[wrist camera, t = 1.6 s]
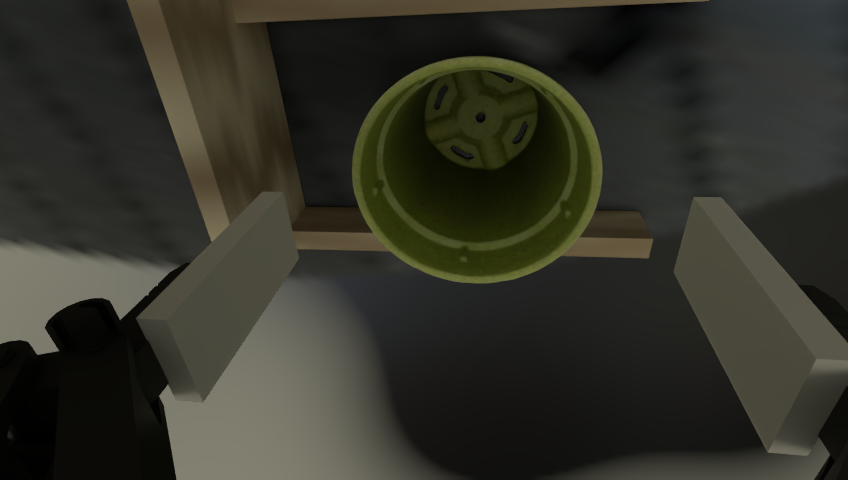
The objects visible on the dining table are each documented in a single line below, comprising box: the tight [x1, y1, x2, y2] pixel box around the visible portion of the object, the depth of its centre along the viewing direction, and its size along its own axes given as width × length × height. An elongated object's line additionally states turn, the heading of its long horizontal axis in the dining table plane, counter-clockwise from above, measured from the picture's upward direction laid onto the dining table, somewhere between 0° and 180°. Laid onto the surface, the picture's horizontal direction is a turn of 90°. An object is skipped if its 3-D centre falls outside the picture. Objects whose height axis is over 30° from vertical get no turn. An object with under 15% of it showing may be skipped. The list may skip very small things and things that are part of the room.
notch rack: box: [127, 0, 709, 258], centre depth 19 cm, size 27×21×8 cm
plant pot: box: [352, 56, 602, 283], centre depth 21 cm, size 9×9×9 cm
